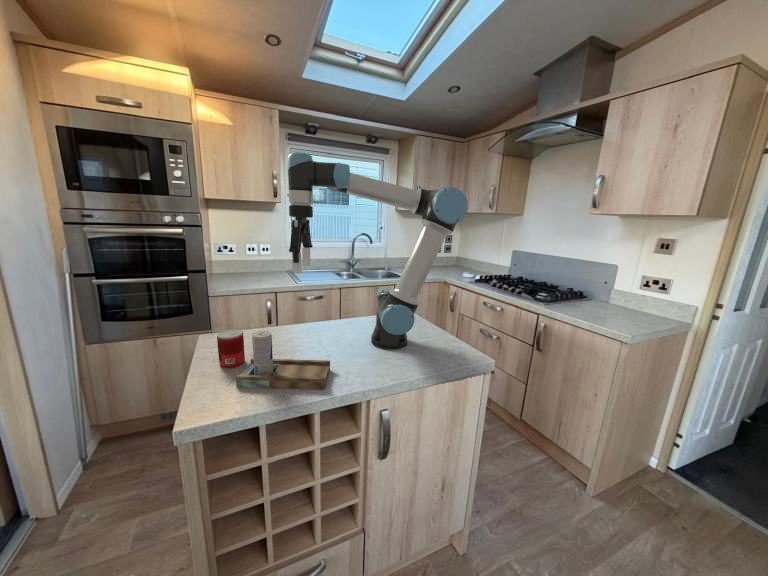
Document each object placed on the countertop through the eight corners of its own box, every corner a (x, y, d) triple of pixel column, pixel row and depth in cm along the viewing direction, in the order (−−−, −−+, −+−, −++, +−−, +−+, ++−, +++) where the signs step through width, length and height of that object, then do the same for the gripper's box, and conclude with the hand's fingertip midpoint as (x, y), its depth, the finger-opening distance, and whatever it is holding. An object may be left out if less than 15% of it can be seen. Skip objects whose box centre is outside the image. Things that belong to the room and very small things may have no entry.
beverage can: (276, 377, 98) (275, 333, 95) (259, 384, 94) (257, 338, 91) (267, 371, 102) (265, 328, 98) (251, 377, 98) (248, 333, 94)
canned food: (249, 361, 108) (247, 332, 105) (228, 370, 101) (226, 339, 98) (236, 355, 111) (234, 327, 109) (214, 364, 105) (211, 334, 102)
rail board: (330, 370, 104) (330, 360, 104) (324, 389, 93) (324, 379, 92) (252, 367, 104) (251, 358, 103) (236, 387, 92) (235, 376, 91)
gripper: (298, 205, 112) (299, 263, 117) (277, 202, 88) (279, 275, 93) (319, 206, 113) (319, 263, 117) (303, 204, 88) (304, 276, 93)
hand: (302, 269), depth 105 cm, fingers open, 13 cm apart
